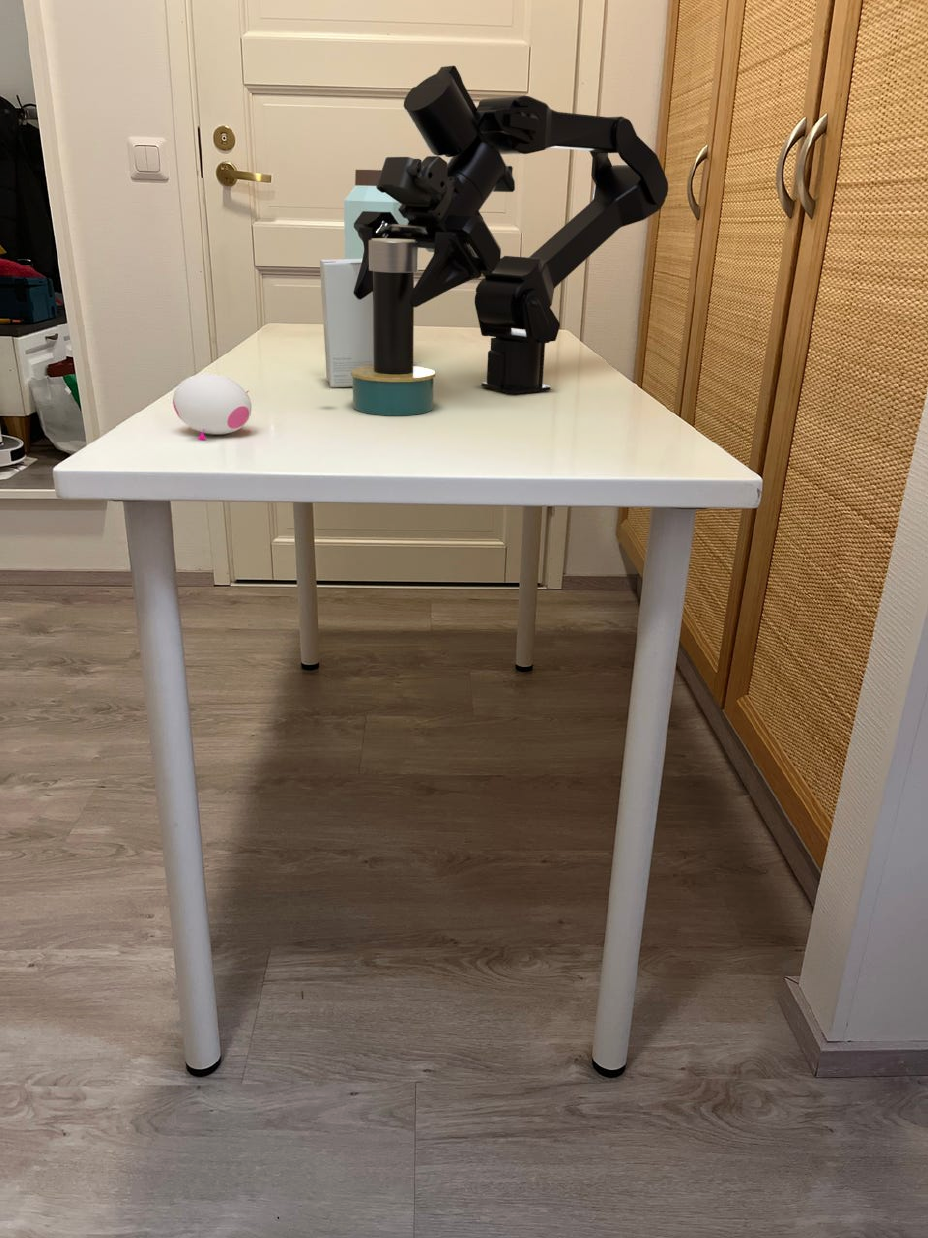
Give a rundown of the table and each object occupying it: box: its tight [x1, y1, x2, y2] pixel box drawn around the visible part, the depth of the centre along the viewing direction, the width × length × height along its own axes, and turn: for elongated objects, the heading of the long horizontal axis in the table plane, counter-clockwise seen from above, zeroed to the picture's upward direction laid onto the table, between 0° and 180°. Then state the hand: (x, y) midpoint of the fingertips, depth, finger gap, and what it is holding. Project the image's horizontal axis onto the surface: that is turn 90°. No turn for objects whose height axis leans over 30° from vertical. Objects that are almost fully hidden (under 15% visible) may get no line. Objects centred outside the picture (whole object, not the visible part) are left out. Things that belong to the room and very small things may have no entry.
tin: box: [351, 365, 436, 417], centre depth 106 cm, size 9×9×4 cm
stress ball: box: [172, 373, 253, 441], centre depth 92 cm, size 8×8×7 cm
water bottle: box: [343, 169, 409, 259], centre depth 131 cm, size 10×10×25 cm
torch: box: [369, 238, 419, 375], centre depth 103 cm, size 5×5×14 cm
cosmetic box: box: [319, 258, 374, 388], centre depth 117 cm, size 8×6×15 cm
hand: (383, 300), depth 102 cm, fingers open, 9 cm apart
